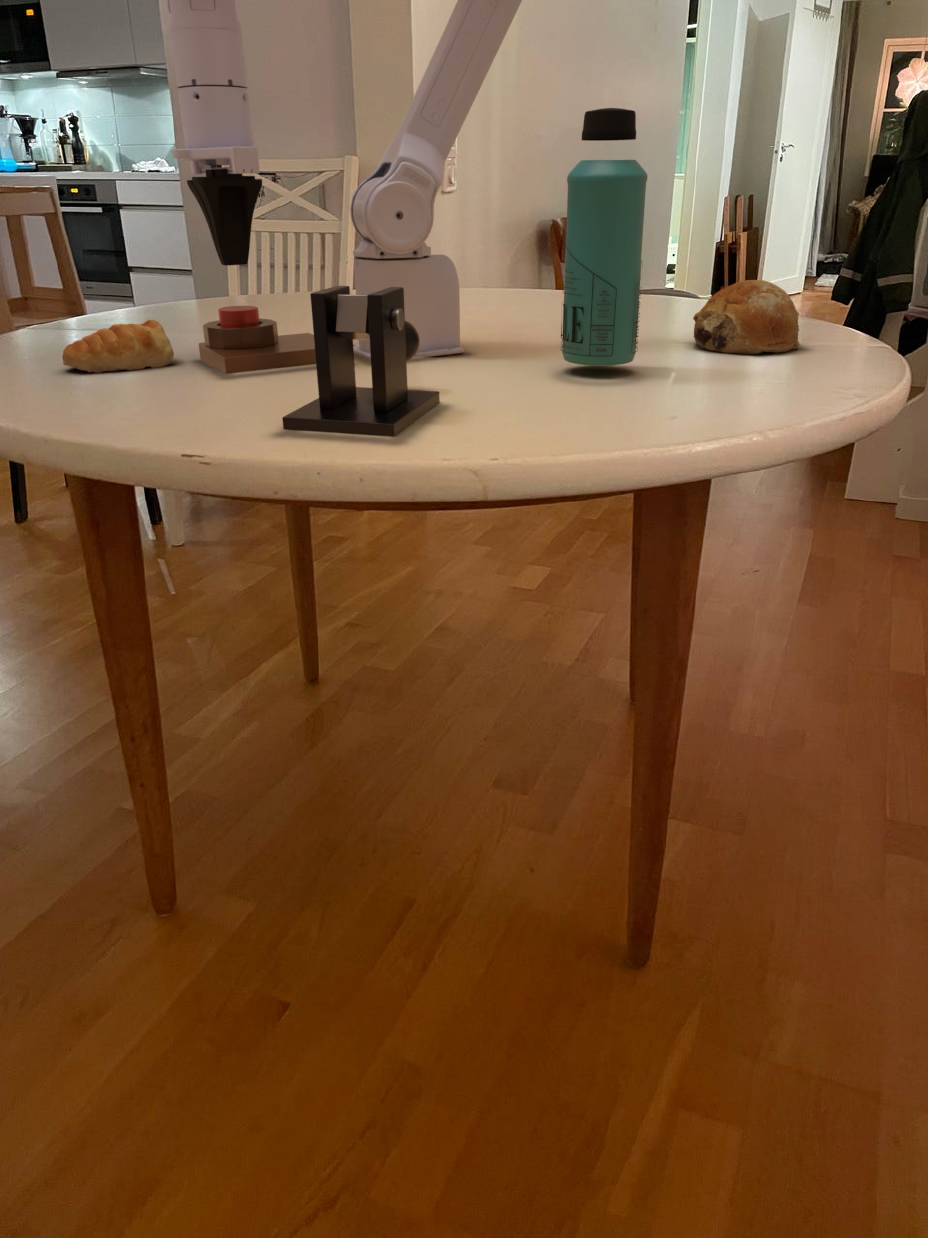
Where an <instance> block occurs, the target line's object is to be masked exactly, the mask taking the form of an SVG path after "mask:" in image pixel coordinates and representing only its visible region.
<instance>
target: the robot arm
mask: <svg viewBox="0 0 928 1238" xmlns="http://www.w3.org/2000/svg"><path fill="white" fill-rule="evenodd" d="M522 2H523V0H457V1H456V4H455V5H454V8H453V10H452V12H451V14H450V17H449V18H448V21H447V23H446V25H445V27H444V30H443V32H442V34H441V36H440V39H439V40H438V42H437V45H436V47H435V49H434V51H433V54H432V55H431V58H430V60H429V62H428V64H427V67H426V69H425V71H424V74H423V75H422V78H421V80H420V82H419V85H418V86H417V89H416V91H415V93H414V95H413V98H412V100H411V102H410V104H409V106H408V108H407V110H406V113H405V115H404V117H403V119H402V121H401V123H400V126H399V128H398V130H397V132H396V134H395V136H394V137H393V139H392V141H391V142H390V144H389V145H388V146H387V148H386V150H385V151H384V153H383V155H382V157H381V159H380V161H379V163H378V165H377V168H376V169H375V170H374V172H373V173H372V174H371V175H370V176H369V177H368V178H366V179H365V180H363V181H362V182H361V183H360V184H359V185H358V186H357V188H356V189H355V191H354V193H353V194H352V196H351V197H352V198H351V201H350V208H349V210H350V211H349V213H350V219H351V223H352V226H353V228H354V230H355V231H356V233H357V234H358V236H359V237H360V238H361V240H360V242H359V244H358V246H357V247H356V248H355V249H354V250H353V251H352V253H353V256H354V257H353V271H354V283H355V286H354V287H355V295H368V294H371V293H374V292H377V291H380V290H383V289H386V288H390V287H403V288H404V311H405V321H407V322H409V323H411V324H412V325H413V326H414V327H415V329H416V330H417V332H418V335H419V340H420V344H419V349H418V351H417V353H416V354H415V356H414V357H416V358H431V357H437V356H447V355H448V356H449V355H455V354H463V353H464V352H465V348H464V347H461V311H460V310H461V307H460V305H461V303H460V301H461V300H460V281H459V280H460V279H459V274H458V271H457V267H456V265H455V263H454V262H453V260H452V259H451V257H449V256H447V255H445V254H432V248H431V246H428V245H427V244H426V240H427V239H428V238H429V236H430V234H431V232H432V229H433V226H434V220H435V217H434V216H435V202H436V197H437V194H438V192H439V190H440V188H441V186H442V184H443V179H444V172H445V166H446V160H447V158H448V156H449V155H450V152H451V151H452V148H453V146H454V144H455V142H456V140H457V137H458V135H459V133H460V131H461V130H462V127H463V125H464V123H465V121H466V119H467V117H468V115H469V113H470V110H471V109H472V107H473V104H474V102H475V100H476V98H477V96H478V94H479V92H480V90H481V87H482V85H483V83H484V81H485V79H486V77H487V75H488V73H489V71H490V69H491V67H492V64H493V62H494V60H495V58H496V56H497V54H498V51H499V50H500V48H501V45H502V43H503V41H504V39H505V37H506V35H507V33H508V32H509V29H510V27H511V24H512V22H513V21H514V18H515V16H516V13H517V12H518V10H519V7H520V5H521V4H522ZM166 6H167V10H168V12H169V14H170V19H169V21H168V30H169V37H170V44H171V51H172V59H173V66H174V73H175V81H176V88H177V95H178V100H179V101H178V103H179V108H180V109H179V110H180V117H181V123H182V130H183V131H182V132H183V137H184V146H185V148H173V149H171V155H172V159H184V160H186V161H189V165H190V172H191V175H192V177H191V179H187V180H186V184H187V187H188V189H189V191H191V193H192V194H193V196H194V198H195V200H196V201H197V203H198V205H199V207H200V210H201V212H202V215H203V216H204V219H205V221H206V224H207V226H208V230H209V233H210V235H211V238H212V241H213V245H214V249H215V251H216V253H217V257H218V259H219V261H220V264H221V265H222V266H225V267H226V266H243V265H244V266H245V265H248V262H249V257H250V248H251V234H252V226H253V225H252V224H253V217H254V212H255V208H256V204H257V201H258V198H259V195H260V193H261V190H262V188H263V179H262V178H256V177H255V175H253V174H260V173H261V171H260V163H259V162H260V161H259V154H258V153H259V152H258V146H255V139H254V131H253V121H252V111H251V104H250V95H249V84H248V76H247V75H248V74H247V67H246V66H247V65H246V59H245V48H244V38H243V27H242V24H241V22H240V21H239V19H238V15H237V6H236V0H166ZM217 166H223V167H217ZM243 174H251V175H243ZM193 175H195V176H193ZM196 175H197V176H196ZM198 175H205V176H198ZM353 349H354V355H360V356H363V357H365V358H368V359H370V360H371V353H370V340H358V343H353ZM414 357H413V358H414Z"/></svg>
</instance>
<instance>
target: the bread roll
mask: <svg viewBox="0 0 928 1238" xmlns="http://www.w3.org/2000/svg"><path fill="white" fill-rule="evenodd" d="M799 316H800V313H799V312H798V309H796V306H795V303H794V301H793V300H792V298H791V297H790V295H789V294H788V293H787V292H786V290H785V289H783V288H781V287H780V286H778V285H776V284H774V283H773V282H770V281H767V280H765V279H748V280H747V279H746V280H740V281H738V282H735V283H733V284H730V285H728V286H726V287H724V288H721V289H720V290H719V291H717V292H716V293H714V294H713V295H712V296H711V297H710V298H709V299H708V300H707V301H706V302H705V304H704V305H703V307H702V308H701V309H700V310H699V311H698V312H696V313H695V314H694V315H693V317H692V319H693V320H694V322H695V323H694V328H693V338H694V341H695V343H696V344H697V345H698V346H699V347H700V348H701V349H705V350H708V351H711V352H719V353H726V354H741V355H760V354H762V353H786V352H789V351H790V350H797V349H798V348H799V346H800V342H799V331H800V328H799V327H800V325H799Z"/></svg>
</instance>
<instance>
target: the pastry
mask: <svg viewBox="0 0 928 1238" xmlns="http://www.w3.org/2000/svg"><path fill="white" fill-rule="evenodd" d="M174 355H175V353H174V349H173V346H172V343H171V341H170V339H169V336H167V334H166V332H165V330H164V326H163V324H161V323H160V322H159V321H158V320H155V319H148V320H146V321H144V322H143V323H126V324H125V323H116V324H112V325H111V326H109V327H108V328H106V327H105V328H100V329H98V330H97V331H96V332H93V333H91V334H89V335H86V336H83V337H82V338H81V339H79V340H75V341H73V342H72V343H70V344H67V345H66V346H65V348H64V349H63V351H62V356H61V357H62V365H63V366H66V367H70V368H74V369H77V370H80V371H85V372H88V373H89V374H90V373H100V374H101V373H103V372H117V371H120V370H127V371H134V370H143V369H144V368H146V367H151V368H152V369H153V368H154V369H155V368H161V367H165V366H169V365H172V364H173V363H172V361H173V358H174Z"/></svg>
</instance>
